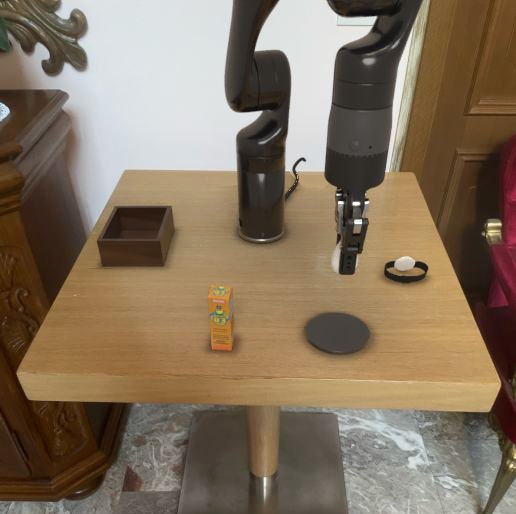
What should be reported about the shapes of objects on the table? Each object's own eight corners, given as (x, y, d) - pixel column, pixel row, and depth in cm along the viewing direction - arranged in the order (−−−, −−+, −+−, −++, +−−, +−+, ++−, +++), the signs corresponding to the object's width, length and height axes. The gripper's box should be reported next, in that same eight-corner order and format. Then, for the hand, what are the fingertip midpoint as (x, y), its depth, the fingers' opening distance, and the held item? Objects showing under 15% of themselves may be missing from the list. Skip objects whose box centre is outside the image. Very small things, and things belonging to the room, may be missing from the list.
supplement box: (210, 351, 79) (205, 296, 73) (215, 336, 82) (210, 282, 75) (232, 352, 79) (229, 297, 72) (236, 338, 82) (233, 284, 75)
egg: (332, 279, 73) (335, 244, 70) (328, 265, 76) (331, 231, 73) (358, 278, 73) (363, 243, 70) (353, 264, 76) (358, 230, 73)
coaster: (314, 310, 87) (314, 307, 87) (374, 321, 84) (374, 318, 84) (297, 347, 80) (297, 344, 79) (363, 360, 77) (363, 357, 77)
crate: (119, 229, 110) (114, 205, 106) (174, 229, 109) (171, 205, 106) (102, 266, 98) (96, 240, 95) (163, 266, 98) (160, 240, 95)
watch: (423, 270, 96) (427, 253, 94) (428, 284, 93) (433, 266, 90) (381, 270, 96) (383, 252, 94) (385, 284, 93) (388, 266, 91)
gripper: (400, 163, 58) (379, 293, 69) (379, 123, 69) (364, 241, 80) (332, 163, 58) (321, 293, 69) (322, 123, 69) (314, 241, 80)
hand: (344, 264), depth 74 cm, fingers closed on egg, 3 cm apart
